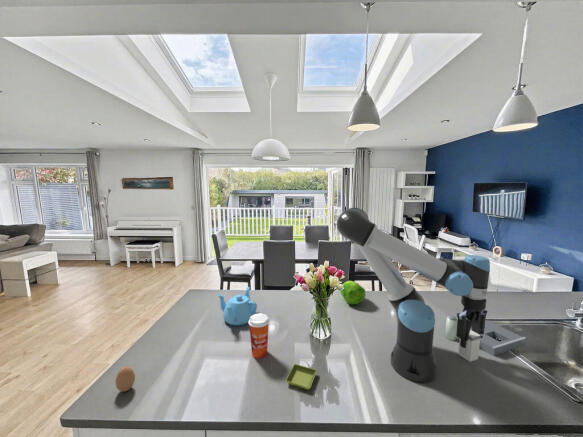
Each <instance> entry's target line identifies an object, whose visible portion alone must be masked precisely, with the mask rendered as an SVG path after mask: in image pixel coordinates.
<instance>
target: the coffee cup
mask: <svg viewBox="0 0 583 437" xmlns="http://www.w3.org/2000/svg"><path fill="white" fill-rule="evenodd" d="M270 321H271V320H270V318H269V317H268V315H267V314H265V313H258V314H254V315H252V316H251V317H250V320H249V322H248V323H247V324H248V325H249V334H250V346H251V354H252V357H254V358H255V359H263V358H264V357H266V356H267V354H268V346H269V345H268V344H269V343H268V342H269V325H270Z"/></svg>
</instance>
